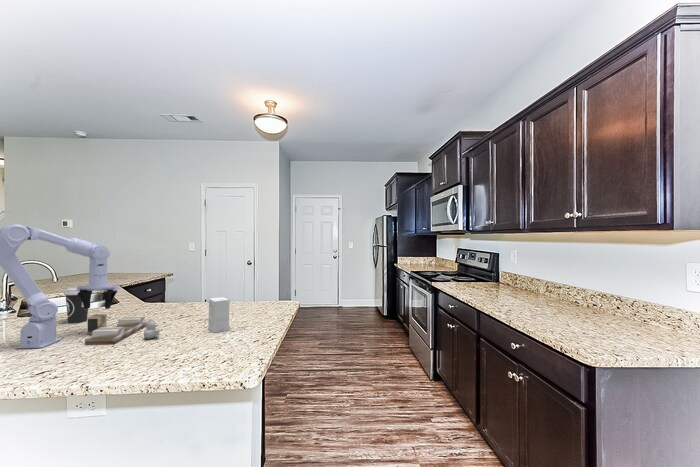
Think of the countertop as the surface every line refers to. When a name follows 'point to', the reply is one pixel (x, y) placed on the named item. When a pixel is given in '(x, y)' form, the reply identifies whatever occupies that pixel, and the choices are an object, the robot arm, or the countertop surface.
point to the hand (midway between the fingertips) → (97, 308)
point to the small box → (218, 314)
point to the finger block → (96, 322)
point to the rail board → (117, 331)
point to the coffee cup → (75, 307)
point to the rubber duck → (151, 330)
